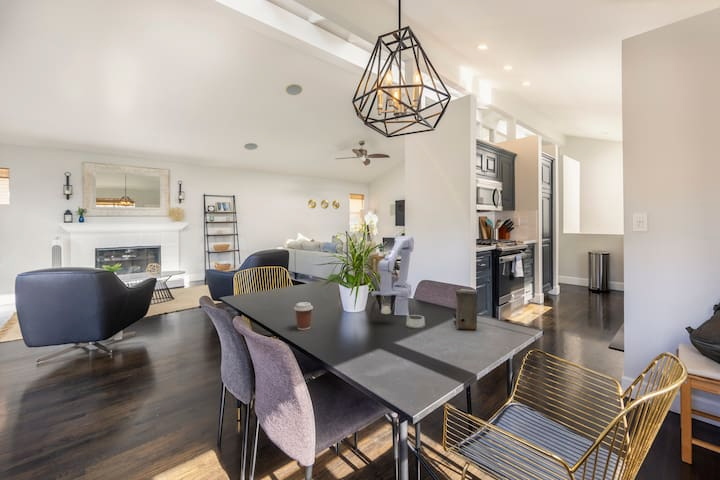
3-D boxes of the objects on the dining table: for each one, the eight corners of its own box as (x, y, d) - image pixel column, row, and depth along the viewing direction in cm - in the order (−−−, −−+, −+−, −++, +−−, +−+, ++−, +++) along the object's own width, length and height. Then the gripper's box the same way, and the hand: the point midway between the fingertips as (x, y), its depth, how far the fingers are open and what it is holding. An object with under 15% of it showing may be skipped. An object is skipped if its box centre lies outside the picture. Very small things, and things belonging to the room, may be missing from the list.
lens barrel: (405, 322, 172) (405, 314, 172) (424, 322, 170) (424, 314, 170) (405, 328, 162) (405, 320, 162) (426, 329, 161) (426, 320, 160)
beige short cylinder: (381, 310, 173) (381, 303, 172) (391, 311, 172) (391, 303, 172) (380, 313, 168) (380, 305, 167) (390, 314, 167) (390, 305, 167)
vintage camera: (470, 322, 173) (470, 284, 173) (477, 330, 158) (477, 289, 157) (451, 321, 174) (451, 284, 174) (457, 330, 159) (456, 289, 158)
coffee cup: (308, 323, 169) (308, 300, 169) (316, 328, 162) (315, 304, 161) (291, 326, 165) (291, 303, 164) (298, 332, 157) (298, 307, 156)
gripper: (371, 284, 166) (371, 311, 167) (400, 285, 164) (400, 312, 165) (372, 282, 173) (372, 307, 174) (400, 282, 171) (400, 308, 172)
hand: (386, 309), depth 170 cm, fingers closed on beige short cylinder, 5 cm apart
